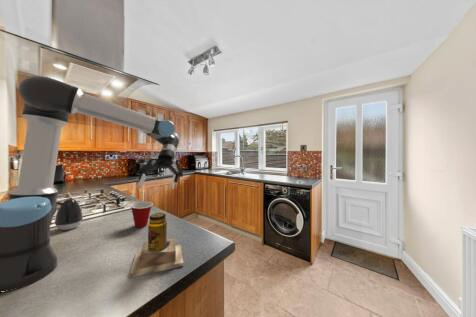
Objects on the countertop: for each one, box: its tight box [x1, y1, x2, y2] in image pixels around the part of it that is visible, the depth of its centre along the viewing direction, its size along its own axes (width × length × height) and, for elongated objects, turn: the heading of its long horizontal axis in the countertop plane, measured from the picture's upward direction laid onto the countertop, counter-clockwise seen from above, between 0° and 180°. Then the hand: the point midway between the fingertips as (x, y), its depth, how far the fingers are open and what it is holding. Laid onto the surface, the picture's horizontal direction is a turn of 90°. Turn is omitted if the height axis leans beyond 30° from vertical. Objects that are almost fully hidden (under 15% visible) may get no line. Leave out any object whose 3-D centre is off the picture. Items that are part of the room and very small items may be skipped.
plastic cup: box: [129, 201, 154, 228], centre depth 93 cm, size 11×11×12 cm
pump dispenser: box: [54, 198, 84, 231], centre depth 88 cm, size 10×10×15 cm
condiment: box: [144, 212, 171, 253], centre depth 62 cm, size 7×8×12 cm
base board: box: [129, 237, 184, 278], centre depth 62 cm, size 16×13×5 cm
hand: (155, 187), depth 75 cm, fingers open, 13 cm apart
